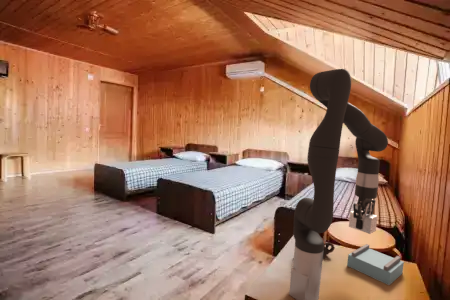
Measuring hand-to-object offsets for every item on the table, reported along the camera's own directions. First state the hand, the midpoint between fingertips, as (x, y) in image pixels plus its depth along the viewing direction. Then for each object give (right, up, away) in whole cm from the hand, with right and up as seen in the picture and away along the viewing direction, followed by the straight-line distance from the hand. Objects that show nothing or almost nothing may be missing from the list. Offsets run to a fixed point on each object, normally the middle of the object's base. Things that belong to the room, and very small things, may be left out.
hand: (362, 227), depth 101 cm
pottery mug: (-10, -18, +18) cm, 27 cm away
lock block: (0, -1, 0) cm, 1 cm away
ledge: (+9, -20, +7) cm, 23 cm away
